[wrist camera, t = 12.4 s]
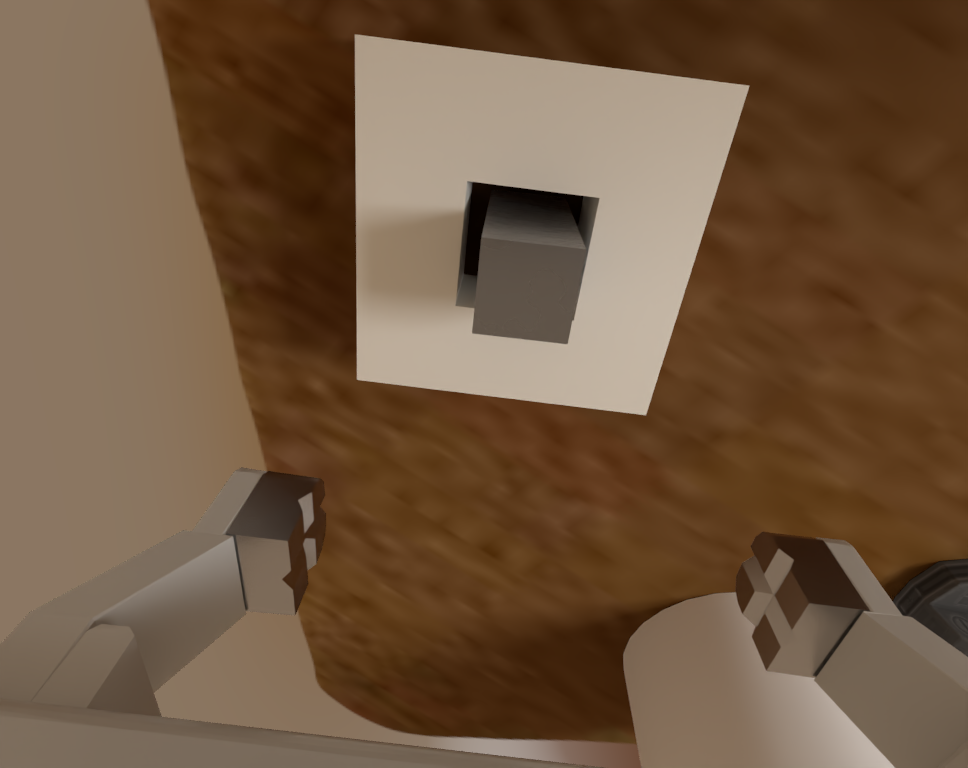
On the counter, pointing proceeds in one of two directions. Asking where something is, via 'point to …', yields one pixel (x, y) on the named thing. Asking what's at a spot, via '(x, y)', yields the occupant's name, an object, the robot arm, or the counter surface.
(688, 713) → the cylinder
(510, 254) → the metal bar
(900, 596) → the zipper pull
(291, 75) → the counter surface
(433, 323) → the well block
